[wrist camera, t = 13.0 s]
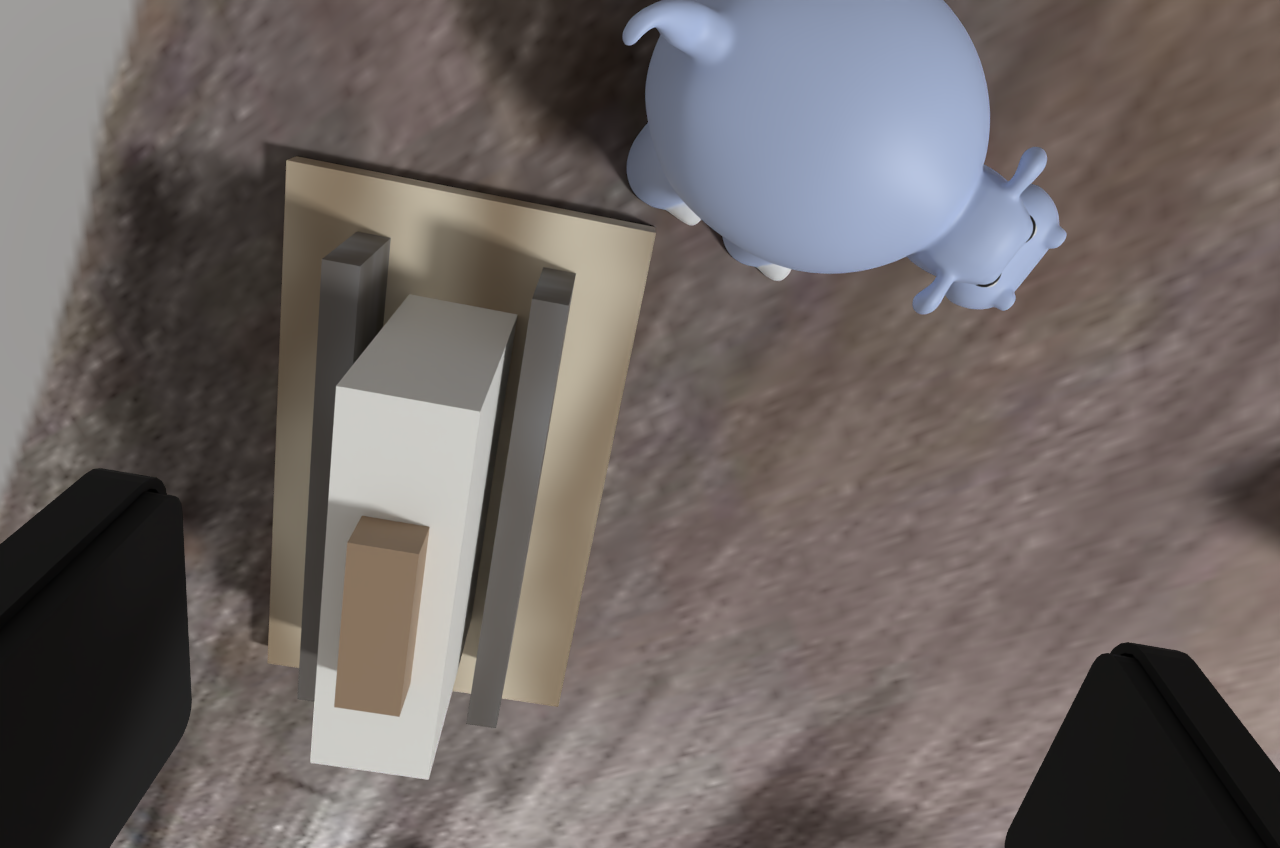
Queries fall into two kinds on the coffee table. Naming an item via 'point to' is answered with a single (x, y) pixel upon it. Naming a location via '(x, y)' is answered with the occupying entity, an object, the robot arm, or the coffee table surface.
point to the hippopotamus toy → (837, 143)
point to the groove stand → (533, 408)
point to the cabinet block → (406, 531)
